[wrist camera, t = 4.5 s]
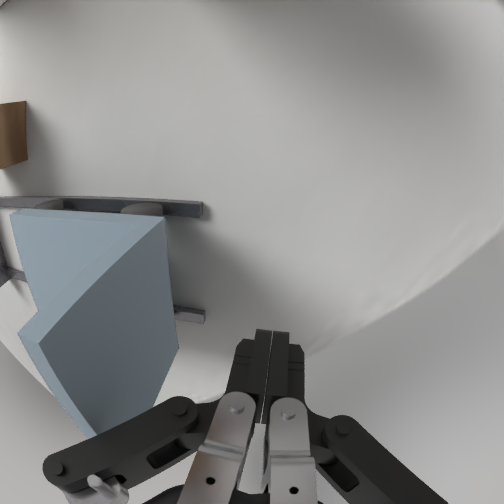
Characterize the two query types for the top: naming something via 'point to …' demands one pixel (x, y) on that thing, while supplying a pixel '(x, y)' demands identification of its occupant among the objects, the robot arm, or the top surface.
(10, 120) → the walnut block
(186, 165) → the top surface
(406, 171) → the top surface
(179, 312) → the rails
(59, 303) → the pale blue l-shaped block
